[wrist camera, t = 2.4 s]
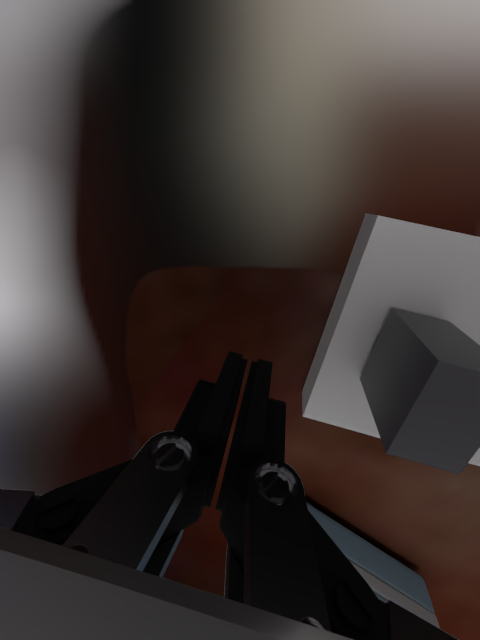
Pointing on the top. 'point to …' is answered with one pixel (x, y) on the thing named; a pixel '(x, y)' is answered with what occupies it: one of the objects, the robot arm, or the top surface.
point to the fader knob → (425, 390)
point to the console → (375, 303)
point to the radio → (380, 570)
